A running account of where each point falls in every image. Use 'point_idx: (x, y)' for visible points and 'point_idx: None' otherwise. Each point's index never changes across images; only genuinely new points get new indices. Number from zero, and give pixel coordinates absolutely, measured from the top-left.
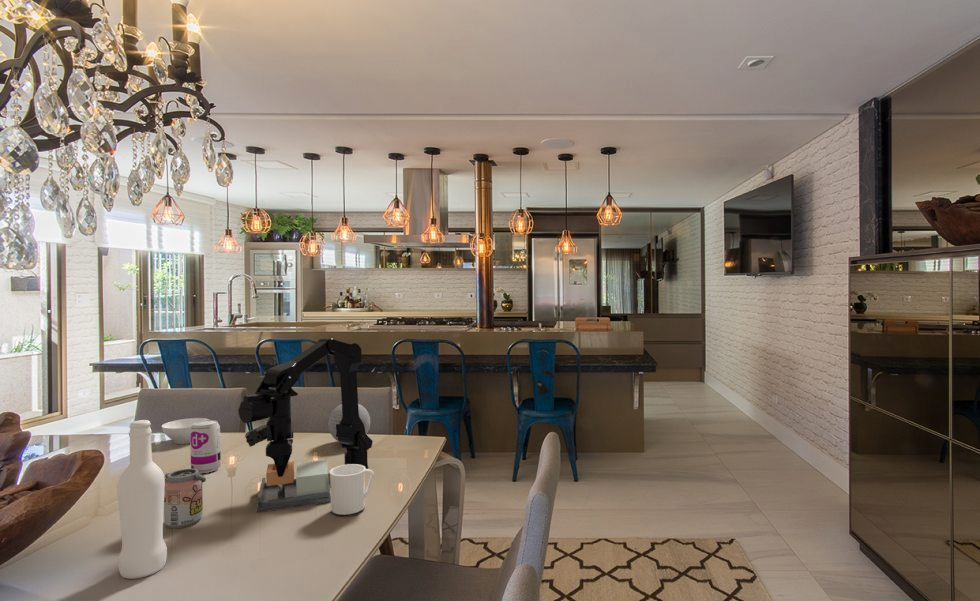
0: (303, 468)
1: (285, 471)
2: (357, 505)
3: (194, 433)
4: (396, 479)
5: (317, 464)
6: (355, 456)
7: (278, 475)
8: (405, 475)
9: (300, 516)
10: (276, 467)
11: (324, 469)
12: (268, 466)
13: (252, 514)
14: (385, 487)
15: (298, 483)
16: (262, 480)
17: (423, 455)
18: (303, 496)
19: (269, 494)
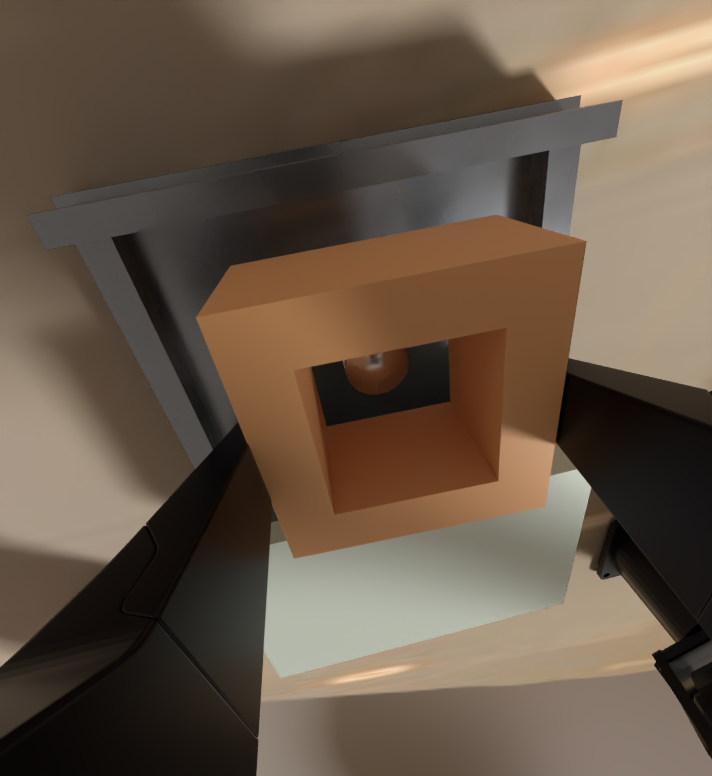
0: (437, 540)
1: (273, 502)
2: None
3: None
4: (444, 654)
5: (495, 587)
6: (660, 600)
7: (232, 432)
8: (471, 663)
9: (54, 479)
10: (167, 509)
11: (369, 644)
12: (482, 274)
13: (26, 167)
14: None
15: None
16: (540, 123)
17: (630, 660)
18: None
19: (350, 231)
